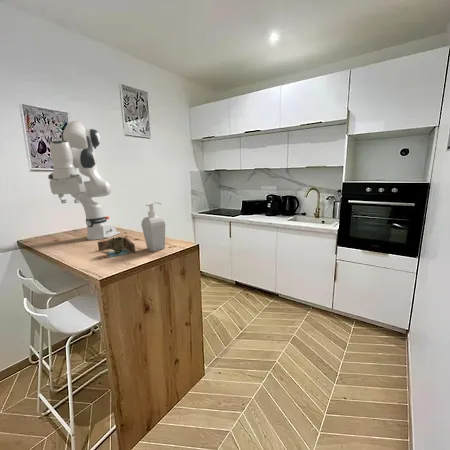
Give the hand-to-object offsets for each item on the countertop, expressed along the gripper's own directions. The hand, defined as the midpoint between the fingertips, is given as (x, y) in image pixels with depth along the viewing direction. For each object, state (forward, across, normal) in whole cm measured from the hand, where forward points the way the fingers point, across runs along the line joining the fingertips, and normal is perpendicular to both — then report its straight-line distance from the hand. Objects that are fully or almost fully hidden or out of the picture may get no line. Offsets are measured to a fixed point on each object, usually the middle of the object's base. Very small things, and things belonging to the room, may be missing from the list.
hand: (70, 203), depth 127 cm
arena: (+29, -11, -14) cm, 34 cm away
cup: (+29, -14, -12) cm, 34 cm away
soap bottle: (+29, -30, -25) cm, 49 cm away
